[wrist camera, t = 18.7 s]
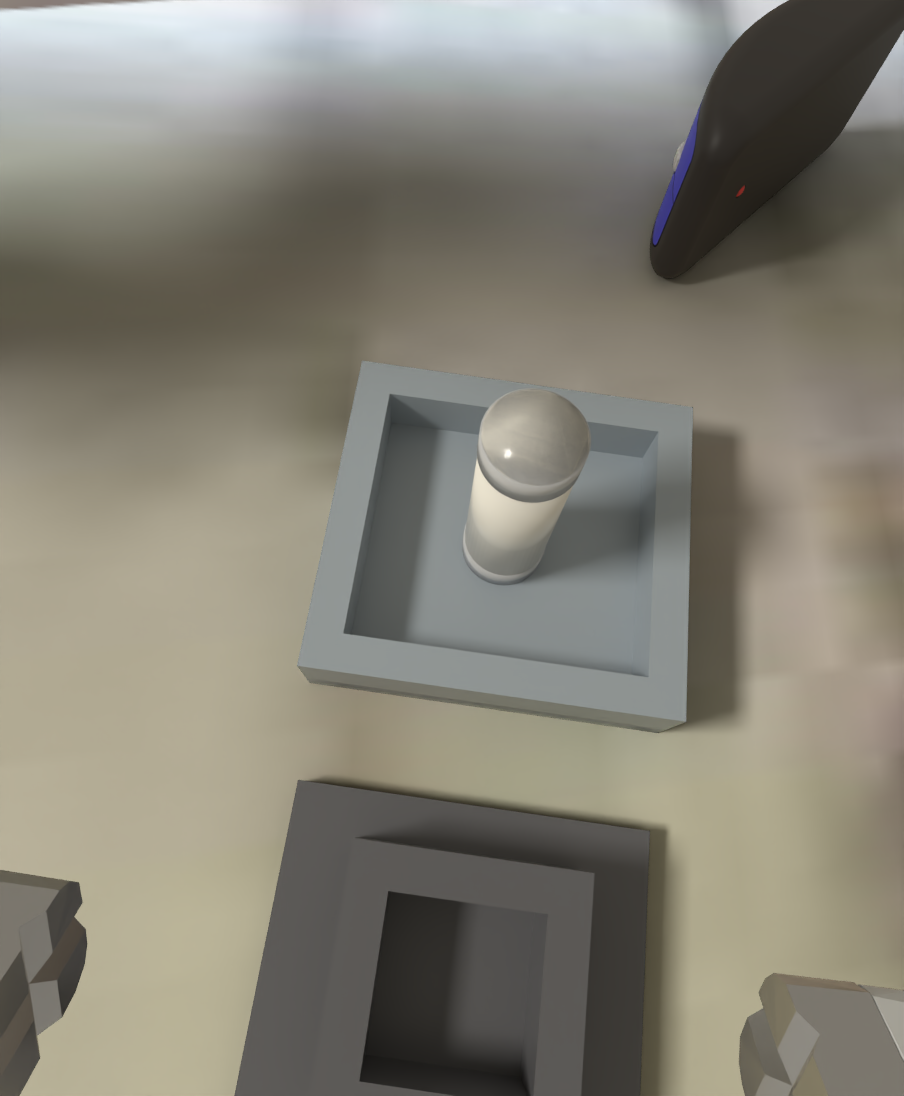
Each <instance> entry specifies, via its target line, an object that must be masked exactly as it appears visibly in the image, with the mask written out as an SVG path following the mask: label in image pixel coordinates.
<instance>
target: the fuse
mask: <svg viewBox="0 0 904 1096" xmlns="http://www.w3.org/2000/svg"><path fill="white" fill-rule="evenodd" d="M590 447H591V434H590V429H589V426H588V423H587V421H586V419H585V417H584V416H583V414H582V413H581V411H580V410H579V409H578V408H577V407H576V406H575V405H574V404H573V403H572V402H571V401H569V400H568V399H567V398H565V397H563V396H561V395H559V394H557V393H555V392H552V391H549V390H544V389H537V388H526V389H519V390H515V391H512V392H510V393H507V394H505V395H503V396H502V397H500V398H499V399H497V400H496V401H495V402H494V403H493V404H492V405H491V406H490V407H489V408H488V410H487V411H486V413H485V415H484V417H483V419H482V422H481V426H480V432H479V438H478V445H477V460H476V467H475V473H474V479H473V485H472V492H471V498H470V504H469V510H468V517H467V522H466V525H465V529H464V535H463V541H462V552H463V556H464V559H465V562H466V563H467V565H468V567H469V568H470V570H471V571H472V572H473V573H474V574H475V575H476V576H478V577H479V578H480V579H482V580H484V581H486V582H488V583H491V584H495V585H512V584H516V583H519V582H521V581H523V580H525V579H527V578H528V577H529V576H530V575H532V574H533V572H534V571H535V570H536V568H537V567H538V565H539V563H540V561H541V559H542V556H543V554H544V552H545V549H546V545H547V543H548V540H549V538H550V536H551V534H552V532H553V529H554V527H555V525H556V523H557V520H558V518H559V516H560V514H561V512H562V509H563V507H564V505H565V503H566V501H567V498H568V496H569V494H570V492H571V490H572V487H573V485H574V484H575V482H576V481H577V479H578V477H579V475H580V473H581V471H582V469H583V467H584V465H585V462H586V460H587V458H588V455H589V452H590Z"/></svg>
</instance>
